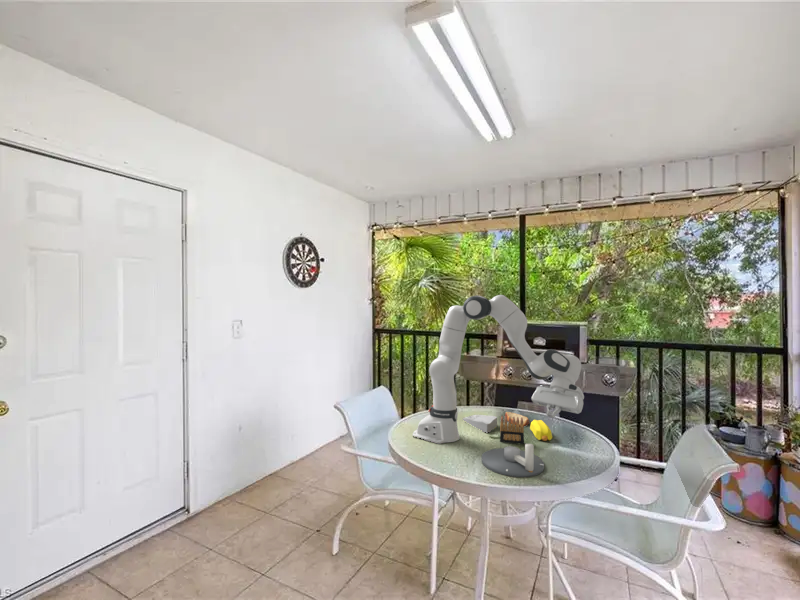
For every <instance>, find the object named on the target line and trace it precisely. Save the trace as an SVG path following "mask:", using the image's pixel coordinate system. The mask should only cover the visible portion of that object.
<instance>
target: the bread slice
mask: <svg viewBox="0 0 800 600" xmlns="http://www.w3.org/2000/svg"><path fill="white" fill-rule="evenodd" d="M505 416H506V417H507V423H508V422H509V416H510V417H511V425H512V420H513V417H514V418H515V425H516V421H517V417H518V418H519V426H520V422H521V417H522V418H523V426H526V425H527V426H529V425H530V419H529V418H528V417H527V416H525V415H522V414H519V413H516V412H510V411H506V412H505V414H504V417H505ZM528 424H529V425H528Z"/></svg>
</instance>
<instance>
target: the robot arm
mask: <svg viewBox="0 0 800 600" xmlns="http://www.w3.org/2000/svg"><path fill="white" fill-rule="evenodd" d="M447 310H448V311H447V312H446V314H445V318H444V320H443V324H442V329H441V333H440V337H439V342H438V343H439V346H438V347H439V348H438V349H439V350H438V356H437V358H435V359H433V360H432V361H431V363H430V365H429V367H428V368H429V369H428V373H429V376H430V379H431V386H432V394H433V395H432V399H433V401H432V405H431V407H429V409H428V410H427V411H428V413H429V414H427V415H426V416H425V417H423V418H422V419H421V420H420V421H419V422H418V425H417V429H415V430H414V431H413V432H412V437H413V436H415V437H418V438H417V439H419V438H421V439H420V440H423V439H424V440H423V441H427V442H430V441H431V442H432V443H435V444H440V445H441V444H444V443H453V442H457V441H458V440H460V439H461V437H460V433H459V429H458V421H457V420H458V407H457V389H456V384H455V375H456V374H457V373H458V372H459V369H460V363H461V359H462V358H461V357H462V349H463V343H464V339H465V335H466V332H467V327H468V324H469V321H471V320H478V321H479V320H482V319H484V318H486V317H487V316H490V317H492V318H493V319H494V320H496V322H497V323H498V324H499V325H500V326H501V328H502V329H503V330H504V332H505V334H506V335H507V338H508V341H509V342H510V344H511V345H512V347H513V349H514V350H515V351H516V353H517V354H518V355H519V357H520V358H521V359H522V361H523V363H524V364H525V365H526V368H527V371H528V372H529V374H530V375H531V377H533V378H535V379H536V380H540V381H543V380H546V379H547V378H549V377H550V376H551V375H552V376H553V379H552V381H551V383H550V385H543V384H541V385H539V386H537V387H536V389H535V391H534V392H533V394H532V396H531V398H530V399H531V402H532V404H534V405H537V406H541V407H545V408H546V410H547V411H546V414H545V415H546V417H549V418H554V419H555V417H556V416H557V415H558V414H559V413H561V411H563V412H567V413H568V412H569V413H573V414H577V415H579V414H580V413H582V410H583V408H584V399H585V395H584V392H583V391H582V389H581V387H579V386H578V385H577V384H576V382H577V381H578V380H579V378H580V374H581V371H582V361H581V360H580V359H579V357H577V356H576V355H573V354H570V353H568V354H566V353H565V354H564V353H562V352H559V351H558V350H557V349H553V348H551V349H547V350H545V351H544V352H542V353H540V354H539V355H537V354H536V353H535V352H534V351H533V349H532V348H531V346H530V345H529V344H528V342H527V340H526V337H525V335H526V331H527V329H528V328H527V327H528V318H527V317H526V315H525V314H524V312H523V311H522V310H521V309H520V308H519V307H518V306H517V305H516V304H515V303H514V302H513V301H512V300H511V299H509V298H508V297H507V296H506V295H504V294H498V295H495V296H493V297H492V298H491V299H488V298H487V297H485V296H482V295H472V296H470V297H468V298H467V299H466V300H465V301H464V303H463V305H459V304H457V305H451V306H450V307H449V308H448V309H447ZM552 409H554V410H553V411H551V410H552ZM415 437H414V438H415ZM431 442H430V443H431Z"/></svg>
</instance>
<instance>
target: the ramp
mask: <svg viewBox="0 0 800 600" xmlns="http://www.w3.org/2000/svg"><path fill="white" fill-rule="evenodd" d="M463 420H464V421H466V422H467V423H469V424H471V425H472V426H471V425H470V426H471V427H473V426H474V427H473V428H475V427H476V428H475V429H477V428H478V429H477V430H479V429H480V430H479V431H481V430H482V431H481V432H482V433H484V432H486V433H488V432H489V433H490V432H492V431H493V430H495V429H496V428H497V427H498V417H497V416H495V415H485V414H473V415H469V416H466V417H463V418H462V421H463ZM467 423H466V424H467ZM469 424H468V425H469ZM495 427H496V428H495ZM494 428H495V429H494ZM492 429H493V430H492ZM491 430H492V431H491ZM486 433H485V434H486ZM489 433H488V434H489Z"/></svg>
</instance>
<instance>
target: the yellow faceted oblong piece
mask: <svg viewBox="0 0 800 600" xmlns="http://www.w3.org/2000/svg"><path fill="white" fill-rule="evenodd" d="M529 425H530V426H529V430H530V431H531V432H532V433H533V435H534V437H535V438H536V439H537V441H540V440H542V441H544V442H547V441H549V442H550V441H551V440H552V439H553V434H552V430H551V429H550V426H549V425H548V424H547V423H545V422H544V421H543V420H542V419H538V420H537V419H533V420H532V421H531V422H530V424H529Z"/></svg>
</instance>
